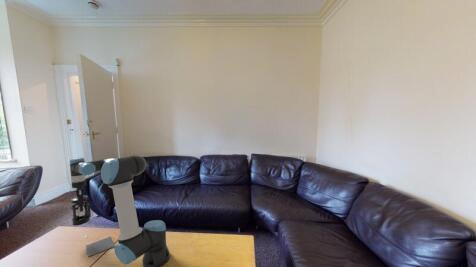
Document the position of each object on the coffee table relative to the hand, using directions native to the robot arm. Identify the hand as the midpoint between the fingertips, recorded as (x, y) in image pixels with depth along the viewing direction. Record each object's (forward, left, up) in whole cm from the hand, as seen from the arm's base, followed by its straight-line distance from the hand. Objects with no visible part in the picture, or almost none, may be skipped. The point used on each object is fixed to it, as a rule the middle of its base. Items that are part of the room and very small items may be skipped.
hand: (81, 213), depth 128 cm
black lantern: (0, 0, -6) cm, 6 cm away
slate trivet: (-13, -8, -21) cm, 26 cm away
